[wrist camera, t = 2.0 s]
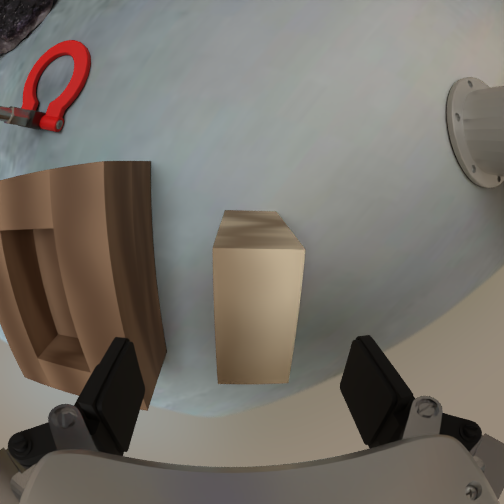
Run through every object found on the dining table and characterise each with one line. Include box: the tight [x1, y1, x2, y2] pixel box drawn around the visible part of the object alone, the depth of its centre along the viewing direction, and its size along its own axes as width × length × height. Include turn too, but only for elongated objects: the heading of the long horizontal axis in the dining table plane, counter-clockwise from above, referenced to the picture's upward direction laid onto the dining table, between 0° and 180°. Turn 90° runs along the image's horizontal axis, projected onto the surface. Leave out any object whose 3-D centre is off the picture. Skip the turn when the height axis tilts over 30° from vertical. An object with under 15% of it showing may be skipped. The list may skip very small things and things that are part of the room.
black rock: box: [0, 0, 53, 54], centre depth 7 cm, size 13×14×10 cm
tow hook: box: [0, 40, 91, 132], centre depth 10 cm, size 8×13×9 cm
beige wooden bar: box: [213, 210, 305, 384], centre depth 18 cm, size 4×8×10 cm, turn 178°
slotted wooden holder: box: [0, 161, 167, 410], centre depth 18 cm, size 14×18×8 cm
